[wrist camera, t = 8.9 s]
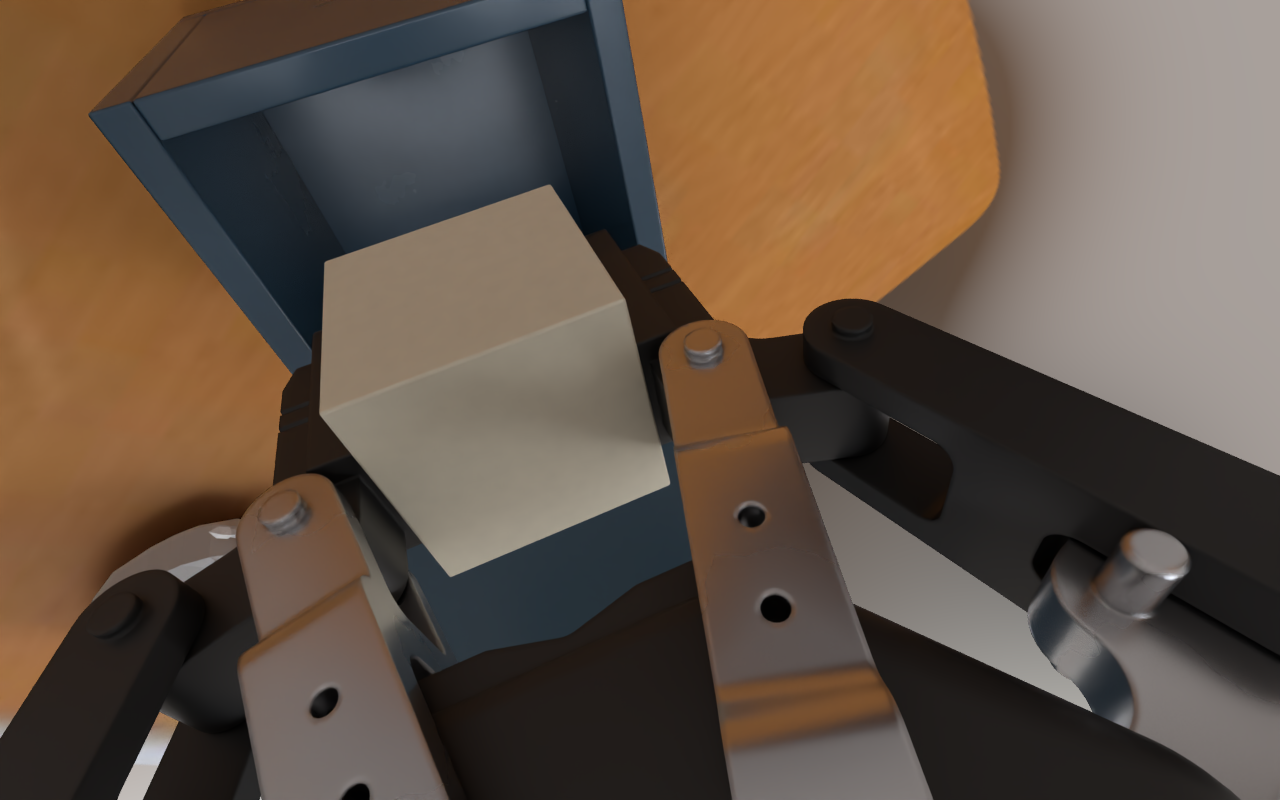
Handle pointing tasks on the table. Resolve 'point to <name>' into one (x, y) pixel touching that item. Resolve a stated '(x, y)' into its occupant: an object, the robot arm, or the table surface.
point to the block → (488, 379)
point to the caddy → (376, 133)
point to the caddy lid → (557, 574)
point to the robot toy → (182, 553)
